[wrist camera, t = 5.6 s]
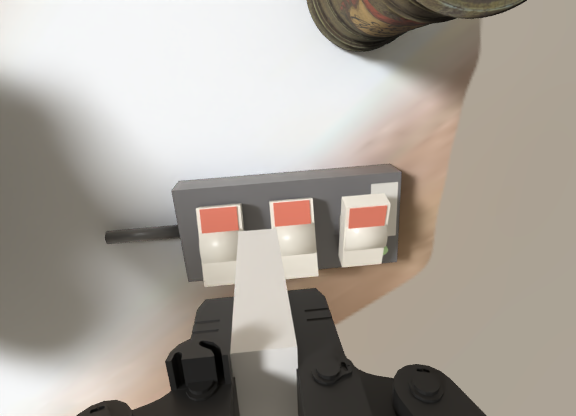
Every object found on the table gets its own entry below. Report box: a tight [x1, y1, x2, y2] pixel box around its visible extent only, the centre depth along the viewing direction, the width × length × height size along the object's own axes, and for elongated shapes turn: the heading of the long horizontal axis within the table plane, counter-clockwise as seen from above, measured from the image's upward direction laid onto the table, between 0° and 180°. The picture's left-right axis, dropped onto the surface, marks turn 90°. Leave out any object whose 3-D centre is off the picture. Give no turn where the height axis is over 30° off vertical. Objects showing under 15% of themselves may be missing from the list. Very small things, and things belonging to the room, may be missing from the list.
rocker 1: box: [196, 203, 244, 287], centre depth 30 cm, size 4×7×3 cm, turn 4°
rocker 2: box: [269, 197, 318, 279], centre depth 31 cm, size 4×7×3 cm, turn 4°
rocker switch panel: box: [105, 164, 402, 282], centre depth 34 cm, size 27×9×3 cm, turn 94°
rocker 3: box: [338, 193, 391, 267], centre depth 31 cm, size 4×7×3 cm, turn 4°
